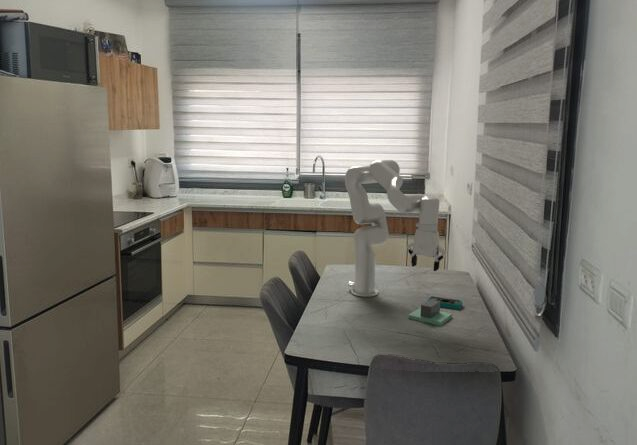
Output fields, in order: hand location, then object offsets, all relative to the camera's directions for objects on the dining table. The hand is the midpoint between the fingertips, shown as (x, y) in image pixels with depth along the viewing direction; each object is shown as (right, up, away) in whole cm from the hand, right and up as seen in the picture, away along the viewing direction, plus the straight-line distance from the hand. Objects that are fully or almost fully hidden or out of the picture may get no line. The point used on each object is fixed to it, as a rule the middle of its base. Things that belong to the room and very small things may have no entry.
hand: (424, 268), depth 225 cm
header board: (+2, -20, 0) cm, 21 cm away
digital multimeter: (+12, -18, +16) cm, 27 cm away
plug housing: (+2, -19, -1) cm, 19 cm away
